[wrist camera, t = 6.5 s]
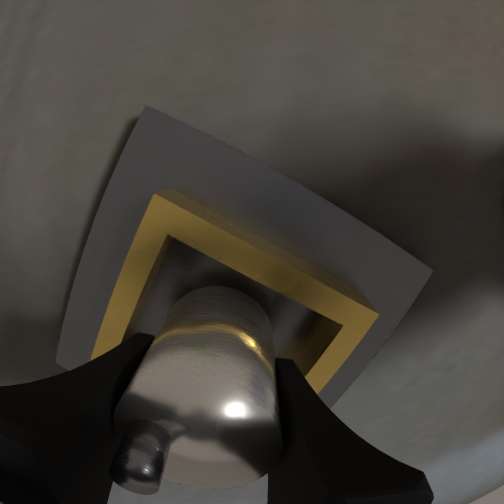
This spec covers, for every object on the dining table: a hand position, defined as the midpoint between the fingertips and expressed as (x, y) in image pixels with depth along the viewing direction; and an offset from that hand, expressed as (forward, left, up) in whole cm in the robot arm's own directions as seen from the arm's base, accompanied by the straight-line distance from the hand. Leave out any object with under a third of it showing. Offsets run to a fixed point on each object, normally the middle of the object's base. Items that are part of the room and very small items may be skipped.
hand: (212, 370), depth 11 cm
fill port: (0, 0, -4) cm, 4 cm away
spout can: (0, 0, -2) cm, 2 cm away
